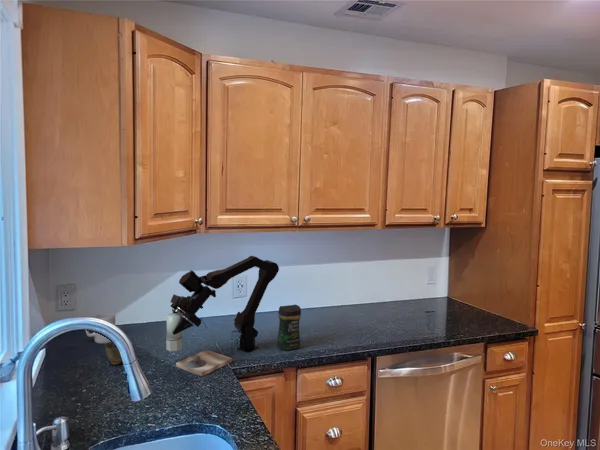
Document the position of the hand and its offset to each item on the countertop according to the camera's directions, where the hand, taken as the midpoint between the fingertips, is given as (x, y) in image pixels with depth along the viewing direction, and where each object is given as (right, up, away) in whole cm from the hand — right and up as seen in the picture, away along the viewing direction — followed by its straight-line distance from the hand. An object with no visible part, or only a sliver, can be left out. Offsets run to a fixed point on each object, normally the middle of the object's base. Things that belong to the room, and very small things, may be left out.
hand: (170, 331), depth 168 cm
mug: (-37, -10, +24) cm, 46 cm away
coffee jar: (+44, -12, +22) cm, 51 cm away
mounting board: (+12, -13, +3) cm, 18 cm away
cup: (-21, -13, +1) cm, 25 cm away
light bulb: (+1, -7, +2) cm, 7 cm away
